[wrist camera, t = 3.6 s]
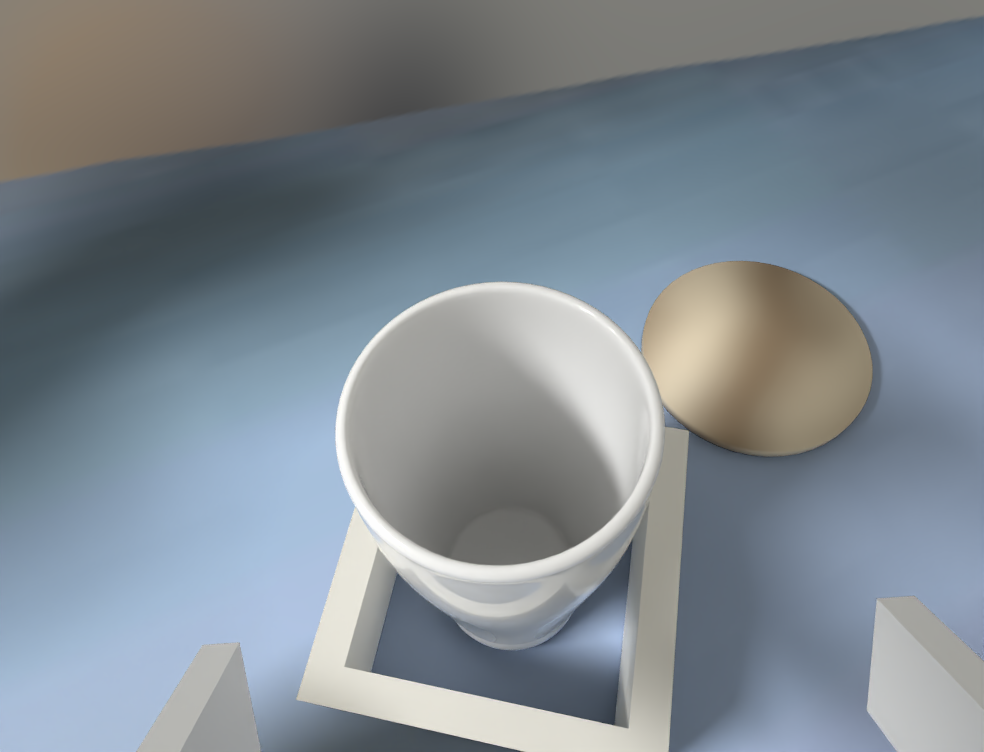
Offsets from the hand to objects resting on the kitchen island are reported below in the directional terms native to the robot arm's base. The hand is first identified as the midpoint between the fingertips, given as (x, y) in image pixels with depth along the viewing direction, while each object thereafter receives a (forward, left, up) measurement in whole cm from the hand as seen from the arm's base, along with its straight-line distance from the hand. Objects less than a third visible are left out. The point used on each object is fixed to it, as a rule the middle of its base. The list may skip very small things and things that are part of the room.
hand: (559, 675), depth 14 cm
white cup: (-2, +4, -12) cm, 13 cm away
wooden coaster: (+7, +16, -12) cm, 21 cm away
